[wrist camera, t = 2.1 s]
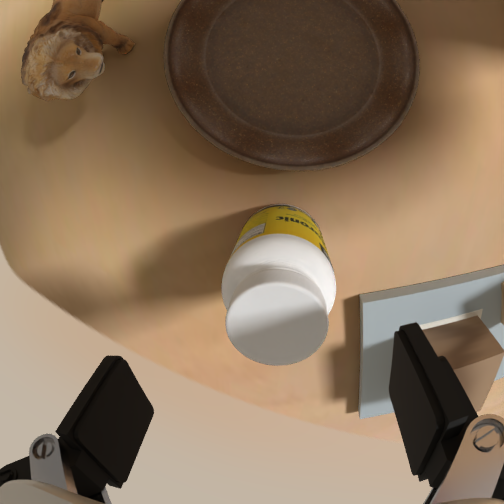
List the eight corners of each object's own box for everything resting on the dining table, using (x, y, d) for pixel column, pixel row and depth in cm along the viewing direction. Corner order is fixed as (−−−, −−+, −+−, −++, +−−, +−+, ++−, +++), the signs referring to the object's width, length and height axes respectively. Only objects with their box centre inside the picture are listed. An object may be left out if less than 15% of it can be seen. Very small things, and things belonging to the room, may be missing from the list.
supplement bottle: (338, 243, 20) (373, 333, 11) (278, 291, 22) (270, 395, 13) (283, 184, 19) (281, 234, 10) (224, 238, 21) (178, 322, 12)
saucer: (136, 63, 17) (117, 56, 14) (292, -61, 12) (291, -81, 9) (285, 212, 20) (285, 224, 17) (442, 81, 15) (461, 77, 12)
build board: (533, 256, 18) (540, 262, 17) (501, 369, 23) (506, 376, 22) (359, 294, 21) (363, 303, 20) (358, 410, 26) (359, 419, 25)
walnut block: (477, 315, 19) (505, 351, 15) (461, 373, 22) (480, 410, 17) (405, 333, 21) (425, 377, 16) (397, 391, 23) (410, 433, 18)
